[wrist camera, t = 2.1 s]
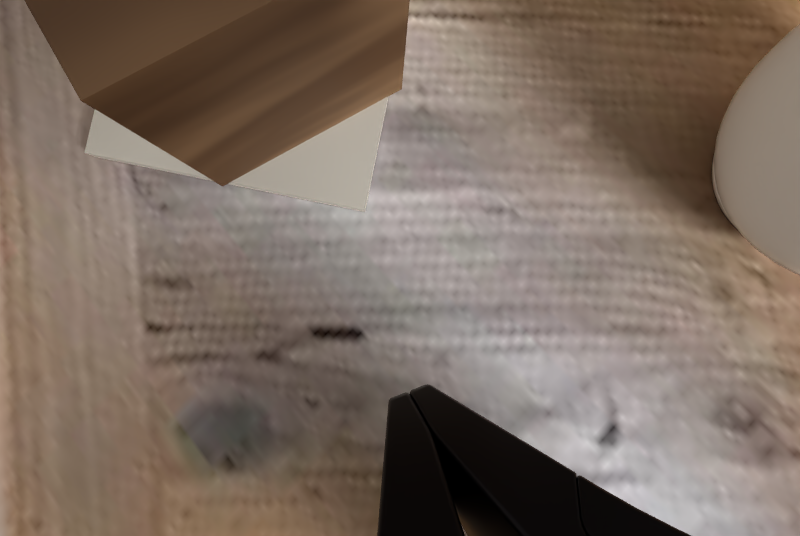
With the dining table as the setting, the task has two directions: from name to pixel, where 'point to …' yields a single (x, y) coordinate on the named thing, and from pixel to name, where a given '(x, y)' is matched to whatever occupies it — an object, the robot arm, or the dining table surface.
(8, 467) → the dining table surface
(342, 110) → the walnut slab
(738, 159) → the lidded bowl
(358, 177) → the felt mat
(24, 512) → the dining table surface
